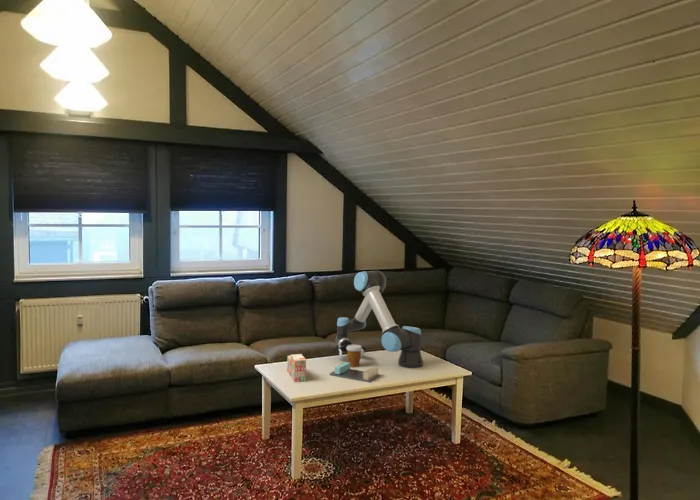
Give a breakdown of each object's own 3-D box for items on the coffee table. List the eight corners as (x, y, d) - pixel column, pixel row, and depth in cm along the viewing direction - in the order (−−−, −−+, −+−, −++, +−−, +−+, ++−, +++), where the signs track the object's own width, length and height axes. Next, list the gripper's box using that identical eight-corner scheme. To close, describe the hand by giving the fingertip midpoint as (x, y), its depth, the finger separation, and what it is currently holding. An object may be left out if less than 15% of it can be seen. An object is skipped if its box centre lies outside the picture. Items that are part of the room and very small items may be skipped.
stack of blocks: (286, 371, 323) (287, 350, 322) (297, 370, 324) (298, 349, 324) (294, 382, 302) (294, 360, 301) (305, 381, 304) (306, 359, 303)
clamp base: (329, 375, 317) (329, 366, 316) (341, 369, 329) (341, 360, 329) (369, 382, 305) (369, 373, 305) (380, 376, 318) (380, 367, 317)
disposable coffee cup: (363, 367, 333) (363, 348, 332) (347, 368, 331) (347, 348, 331) (360, 363, 342) (360, 344, 341) (344, 363, 341) (345, 344, 340)
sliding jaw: (334, 373, 316) (334, 367, 315) (345, 368, 327) (345, 361, 327) (339, 374, 314) (339, 368, 314) (350, 368, 326) (350, 362, 326)
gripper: (364, 350, 363) (372, 358, 342) (326, 351, 357) (331, 360, 337) (364, 338, 362) (372, 346, 341) (326, 339, 357) (332, 347, 336)
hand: (352, 353), depth 339 cm, fingers open, 13 cm apart
